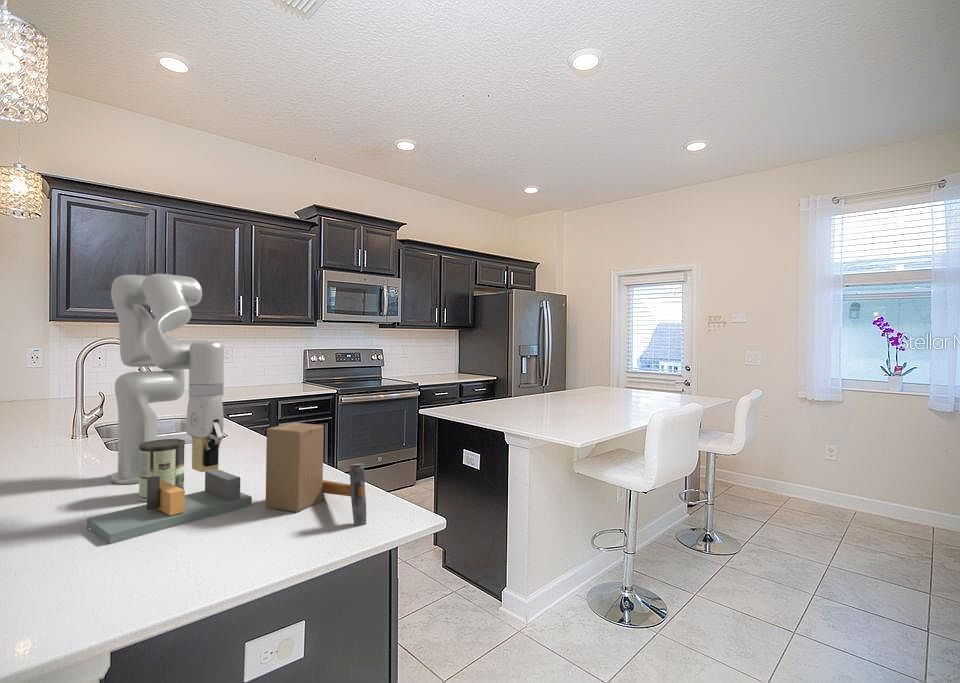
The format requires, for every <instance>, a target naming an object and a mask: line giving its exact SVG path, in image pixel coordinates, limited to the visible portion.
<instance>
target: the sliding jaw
mask: <svg viewBox="0 0 960 683" xmlns="http://www.w3.org/2000/svg"><path fill="white" fill-rule="evenodd" d="M185 495H186V490H185V489H184V490H183V489H181V488H179V487H177V486H174V485H172V484H170V483H167V482H165V481H163V480H162V481H160V477H159V476H153V477H149V478H147V501H146V504H147V510H154V509H159V510H161V511H162V512H164V513H166V514H168V515H174V514H178V513H182V512H185Z"/></svg>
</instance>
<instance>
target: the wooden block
mask: <svg viewBox="0 0 960 683" xmlns="http://www.w3.org/2000/svg"><path fill="white" fill-rule="evenodd" d="M324 428H325V427H324V425H321V424H313V423H303V422H291V423H285V424H281V425H277V426H273V427H269V428H267V429H266V451H265V453H266V455H265V457H266V458H265V459H266V462H265V467H266V468H265V508H269V509H276V510H281V511H288V512H293V513H299V512H301V511H303V510H305V509H307V508H309V507H311V506H313V505H315V504H317V503H319V502H321V501H322V500H323V493H322V491H323V480H324V436H325V435H324Z"/></svg>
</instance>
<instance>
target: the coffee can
mask: <svg viewBox="0 0 960 683" xmlns="http://www.w3.org/2000/svg"><path fill="white" fill-rule="evenodd" d="M185 445H186V440H185V439H180V438H166V439H165V438H163V439H157V440H154V441H148V442H144V443H142V444H140V445H139V483H138V485H139V486H138V500H139V501H143V502H147V478H149V477H153V476H159V477H160V481H162V480H163V481H165V482H167V483H170V484H172V485H174V486H177V487H179V488H181V489H183V490H185Z"/></svg>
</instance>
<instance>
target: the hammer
mask: <svg viewBox="0 0 960 683" xmlns="http://www.w3.org/2000/svg"><path fill="white" fill-rule="evenodd" d="M348 468H349V481H350V482H349V483H350V484H347V483H343V482H337V481H330V480H324V479H323V491H322V494H327V495H337V496H344V497H350V498H351V499H350V500H351V501H350V502H351V510H352V511H351V512H352V518H353V525H354V526H355V527H358V526H363V524H364V525H366V524H367V499H366V484H365V480H366V479H365V468H364V463H354V464H349V466H348Z"/></svg>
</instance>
